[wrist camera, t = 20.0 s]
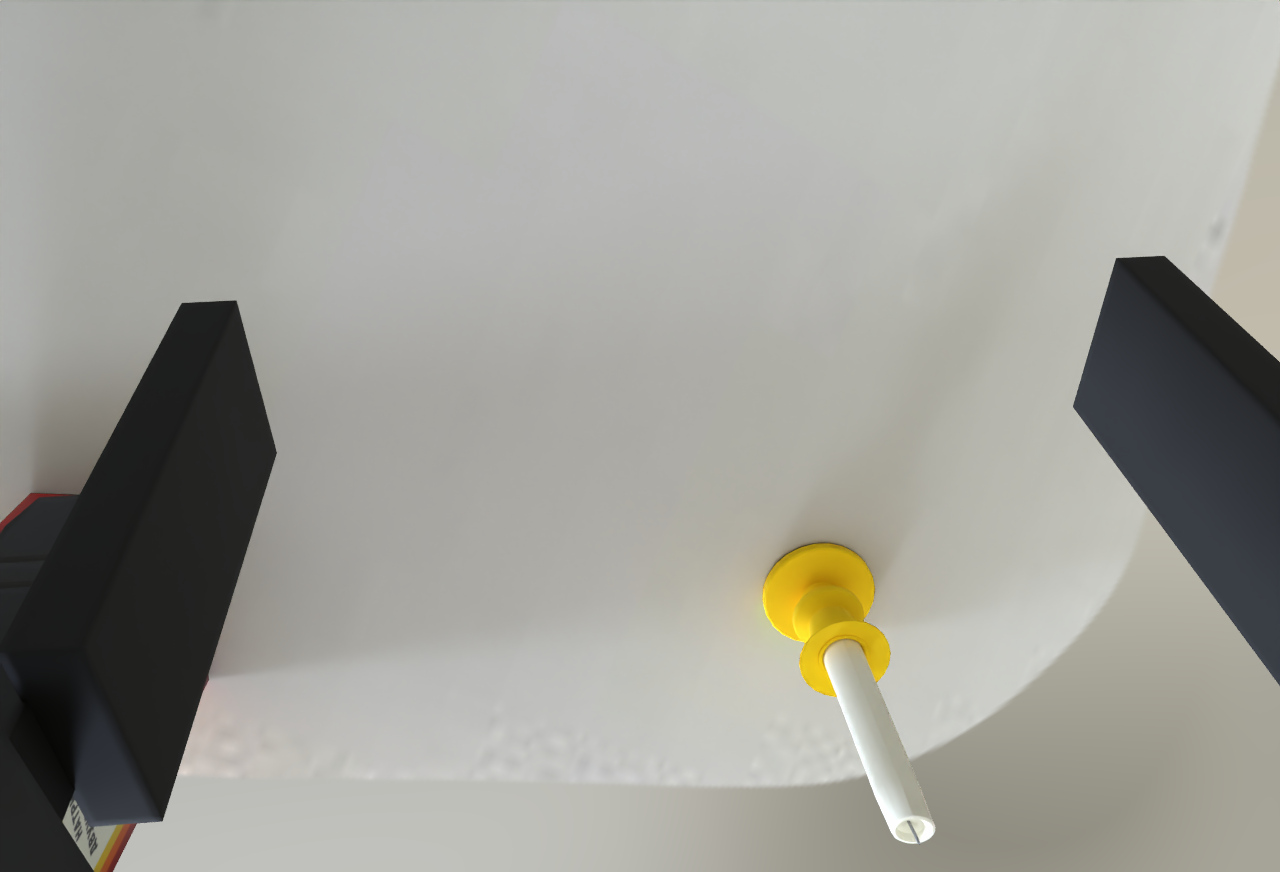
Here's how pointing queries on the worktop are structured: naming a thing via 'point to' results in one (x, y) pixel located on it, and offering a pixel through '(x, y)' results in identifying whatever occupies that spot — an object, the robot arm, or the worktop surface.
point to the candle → (848, 668)
